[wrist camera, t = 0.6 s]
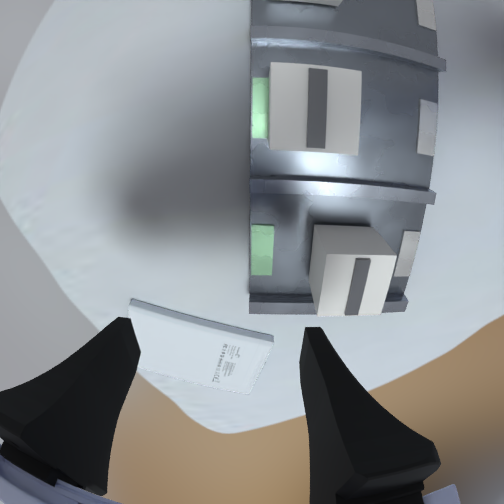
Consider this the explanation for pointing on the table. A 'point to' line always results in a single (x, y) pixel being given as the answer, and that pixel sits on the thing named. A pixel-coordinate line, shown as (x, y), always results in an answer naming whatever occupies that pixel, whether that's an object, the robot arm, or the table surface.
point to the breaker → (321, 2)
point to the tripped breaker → (349, 270)
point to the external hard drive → (198, 348)
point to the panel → (341, 165)
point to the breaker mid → (314, 108)
